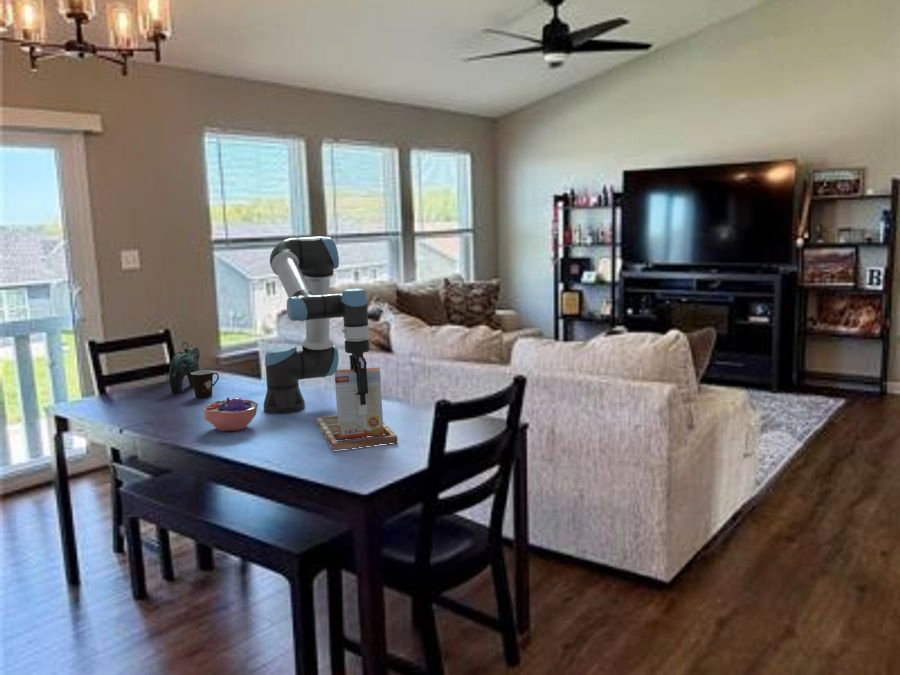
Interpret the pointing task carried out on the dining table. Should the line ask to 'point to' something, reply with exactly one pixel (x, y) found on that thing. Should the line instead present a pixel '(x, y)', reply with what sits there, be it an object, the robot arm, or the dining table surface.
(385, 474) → the dining table surface
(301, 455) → the dining table surface
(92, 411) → the dining table surface
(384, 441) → the rail
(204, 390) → the coffee mug
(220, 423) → the cell model
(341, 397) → the cracker box
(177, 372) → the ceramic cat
